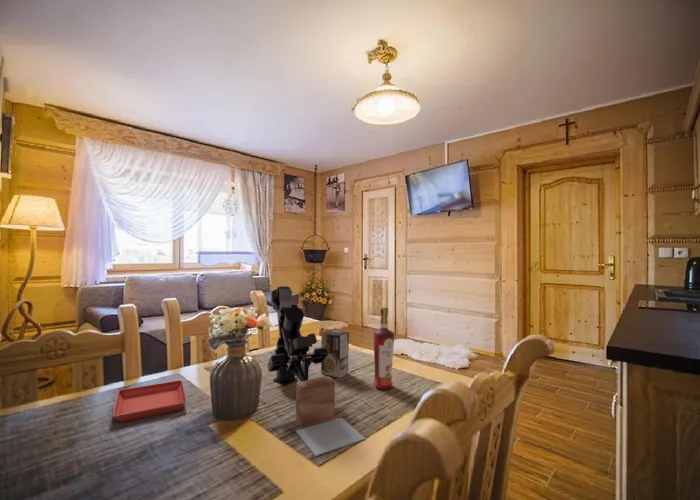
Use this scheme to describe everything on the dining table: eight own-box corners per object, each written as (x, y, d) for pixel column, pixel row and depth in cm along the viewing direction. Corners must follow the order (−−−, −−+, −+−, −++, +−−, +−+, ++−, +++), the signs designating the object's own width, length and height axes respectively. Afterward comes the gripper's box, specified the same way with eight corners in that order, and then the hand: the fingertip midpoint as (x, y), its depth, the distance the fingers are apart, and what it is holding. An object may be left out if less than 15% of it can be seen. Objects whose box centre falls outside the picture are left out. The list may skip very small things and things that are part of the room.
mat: (295, 431, 88) (295, 430, 88) (341, 418, 95) (341, 417, 95) (315, 456, 77) (315, 455, 77) (365, 439, 85) (365, 438, 85)
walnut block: (295, 421, 93) (296, 382, 93) (327, 413, 98) (328, 375, 98) (301, 428, 89) (302, 387, 89) (334, 419, 95) (334, 380, 95)
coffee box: (348, 373, 129) (349, 332, 129) (339, 378, 124) (340, 335, 124) (330, 368, 134) (330, 328, 134) (320, 373, 129) (321, 332, 129)
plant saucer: (187, 412, 98) (187, 400, 98) (111, 428, 88) (112, 415, 88) (182, 389, 113) (182, 379, 113) (117, 400, 104) (117, 390, 104)
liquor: (386, 381, 122) (387, 305, 122) (397, 388, 116) (398, 308, 116) (368, 384, 119) (370, 306, 119) (379, 392, 113) (380, 310, 112)
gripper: (271, 328, 99) (283, 377, 89) (326, 322, 108) (343, 366, 99) (262, 347, 105) (273, 395, 96) (316, 340, 115) (330, 383, 106)
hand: (306, 384), depth 99 cm, fingers closed
